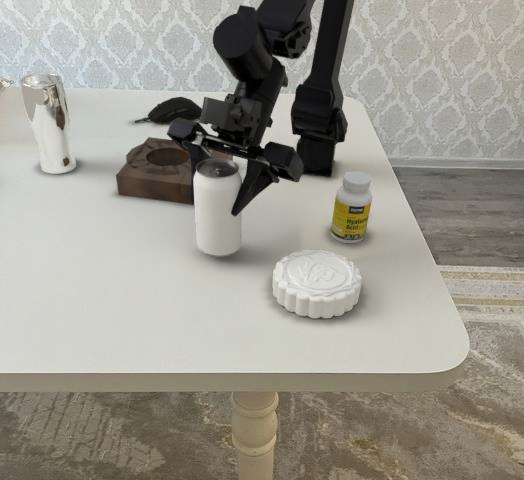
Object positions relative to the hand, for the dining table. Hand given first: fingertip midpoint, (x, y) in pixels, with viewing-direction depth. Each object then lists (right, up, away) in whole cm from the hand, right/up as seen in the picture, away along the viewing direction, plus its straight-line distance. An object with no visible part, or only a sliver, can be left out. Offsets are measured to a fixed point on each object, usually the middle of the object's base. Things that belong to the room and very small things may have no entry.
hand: (212, 208), depth 80 cm
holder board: (-8, +11, +24) cm, 28 cm away
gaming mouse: (-13, +29, +44) cm, 55 cm away
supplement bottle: (+20, -1, +13) cm, 24 cm away
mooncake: (+14, -11, +1) cm, 18 cm away
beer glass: (-30, +14, +26) cm, 42 cm away
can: (0, -4, +6) cm, 7 cm away
